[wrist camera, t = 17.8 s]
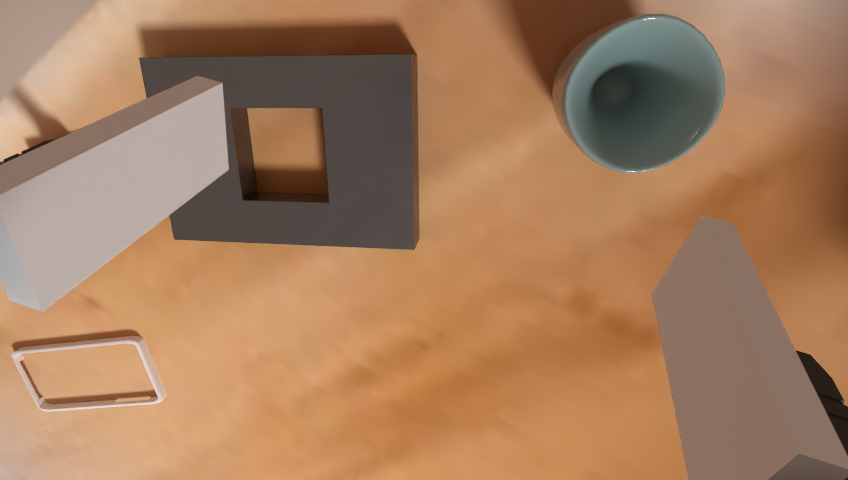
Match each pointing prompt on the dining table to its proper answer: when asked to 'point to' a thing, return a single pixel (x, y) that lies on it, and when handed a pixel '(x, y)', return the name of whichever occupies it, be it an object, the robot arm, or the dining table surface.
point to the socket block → (344, 147)
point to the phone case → (134, 340)
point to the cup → (639, 92)
